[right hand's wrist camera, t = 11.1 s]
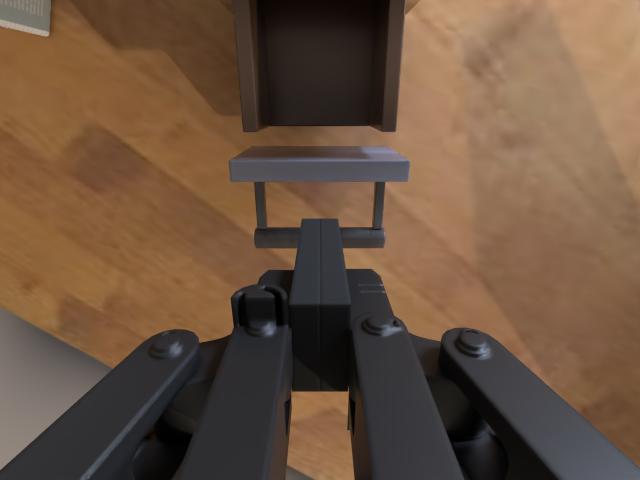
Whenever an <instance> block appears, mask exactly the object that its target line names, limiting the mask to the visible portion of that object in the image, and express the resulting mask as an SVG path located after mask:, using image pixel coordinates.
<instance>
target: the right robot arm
mask: <svg viewBox="0 0 640 480" xmlns="http://www.w3.org/2000/svg"><path fill="white" fill-rule="evenodd" d="M231 305H232V314H233V323H234V328H233V331H232V334H230V335H228V336H226V337H223V338H220V339H216V340H212V341H207V342H202V343H199V339H198V337H197V336H196V335H195V333H194V332H191V331H188V330H181V329H174V330H169V331H164V332H161V333H159V334H156V335H154V336H152V337H150V338H149V339H147V340H146V341H144V342H143V343H142V344H141V345H139V346H138V347H137V348H136V349H135V350H134V351H133V352H132V353H131V354H129V355H128V356H127V357H126V358H125V359H124V360H123V361H122V362H121V363H119V364H118V365H117V366H116V367H115V368H114V369H113V370H112V371H111V372H109V373H108V374H107V375H106V376H105V377H104V378H103V379H102V380H100V381H99V382H98V383H97V384H96V385H95V386H94V387H93V388H92V389H90V390H89V391H88V392H87V393H86V394H85V395H84V396H83V397H82V398H81V399H79V400H78V401H77V402H76V403H75V404H74V405H73V406H71V407H70V408H69V409H68V410H67V411H66V412H65V413H64V414H63V415H61V416H60V417H59V418H58V419H57V420H56V421H55V422H54V423H53V424H51V425H50V426H49V427H48V428H47V429H46V430H45V431H44V432H42V433H41V434H40V435H39V436H38V437H37V438H36V439H35V440H34V441H32V442H31V443H30V444H29V445H28V446H27V447H26V448H25V449H24V450H22V451H21V452H20V453H19V454H18V455H17V456H16V457H15V458H14V459H12V460H11V461H10V462H9V463H8V464H7V465H6V466H5V467H3V468H2V469H1V470H0V480H285V478H286V466H287V455H288V444H289V433H290V422H291V411H292V403H291V389H292V391H348V387H349V403H348V428H347V430H350V432H351V444H352V455H353V466H354V477H355V480H640V467H639V466H638V465H636V464H635V463H634V462H633V461H632V460H631V459H630V458H629V457H627V456H626V455H625V454H624V453H623V452H622V451H621V450H620V449H618V448H617V447H616V446H615V445H614V444H613V443H612V442H611V441H609V440H608V439H607V438H606V437H605V436H604V435H603V434H602V433H600V432H599V431H598V430H597V429H596V428H595V427H594V426H593V425H591V424H590V423H589V422H588V421H587V420H586V419H585V418H584V417H582V416H581V415H580V414H579V413H578V412H577V411H576V410H575V409H573V408H572V407H571V406H570V405H569V404H568V403H567V402H566V401H565V400H563V399H562V398H561V397H560V396H559V395H558V394H557V393H556V392H554V391H553V390H552V389H551V388H550V387H549V386H548V385H547V384H545V383H544V382H543V381H542V380H541V379H540V378H539V377H538V376H536V375H535V374H534V373H533V372H532V371H531V370H530V369H529V368H527V367H526V366H525V365H524V364H523V363H522V362H521V361H520V360H518V359H517V358H516V357H515V356H514V355H513V354H512V353H511V352H509V351H508V350H507V349H506V348H505V347H504V346H503V345H502V344H500V343H499V342H498V341H497V340H495V339H494V338H492V337H491V336H490V335H488V334H485V333H483V332H480V331H478V330H474V329H469V328H454V329H451V330H448V331H446V332H445V333H444V334H443V335H442V339H441V342H440V341H435V340H430V339H426V338H422V337H418V336H415V335H413V334H411V333H409V332H408V331H407V328H406V326H405V325H404V323H403V322H402V321H401V320H400V319H398V318H397V317H395V316H394V314H393V312H392V309H391V306H390V303H389V300H388V297H387V294H386V293H385V289H384V286H383V283H382V280H381V277H380V276H379V275H378V274H377V273H376V272H375V271H373V270H372V269H346V268H345V261H344V255H343V248H342V242H341V236H340V229H339V223H338V219H302V223H301V229H300V236H299V242H298V248H297V255H296V261H295V268H294V270H268V271H267V272H266V273H264V274H263V275H262V276H261V277H260V279H259V281H258V284H257V285H251V286H247V287H244V288H242V289H240V290H238V291H236V292H235V293H234V294H233V296H232V297H231Z"/></svg>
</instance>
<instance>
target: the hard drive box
mask: <svg viewBox="0 0 640 480" xmlns="http://www.w3.org/2000/svg"><path fill="white" fill-rule="evenodd" d="M50 12H51V0H0V26H2V27H6V28H11V29H15V30H20V31H24V32H28V33H33V34H37V35H41V36H46V37H47V36H49V32H50Z"/></svg>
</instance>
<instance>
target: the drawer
mask: <svg viewBox="0 0 640 480" xmlns="http://www.w3.org/2000/svg"><path fill="white" fill-rule="evenodd" d="M405 7H406V0H233V11H234V24H235V36H236V48H237V61H238V73H239V85H240V98H241V110H242V123H243V131H244V132H258V131H260V130H262V129H265V128H267V127H269V126H371V127H373V128H375V129H377V130H380V131H382V132H395V131H396V123H397V110H398V97H399V84H400V71H401V59H402V46H403V33H404V20H405ZM229 168H230V178H231V182H254V186H255V200H256V214H257V228H256V229H255V234H254V242H255V247H256V248H298V242H299V236H300V229H301V227H267V213H266V196H265V182H375V187H374V204H373V221H372V227H339V229H340V236H341V242H342V248H384V245H385V230H384V228H383V227H382V220H383V206H384V192H385V182H407V181H408V180H409V170H410V160H408V159H407V158H405V157H404V156H402V155H400V154H399V153H397V152H396V151H394V150H393V149H391V148H389V147H388V146H252V147H250V148H249V149H247V150H245V151H244V152H242V153H241V154H239V155H238V156H236V157H234V158H233V159H231V160H230V161H229Z"/></svg>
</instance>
